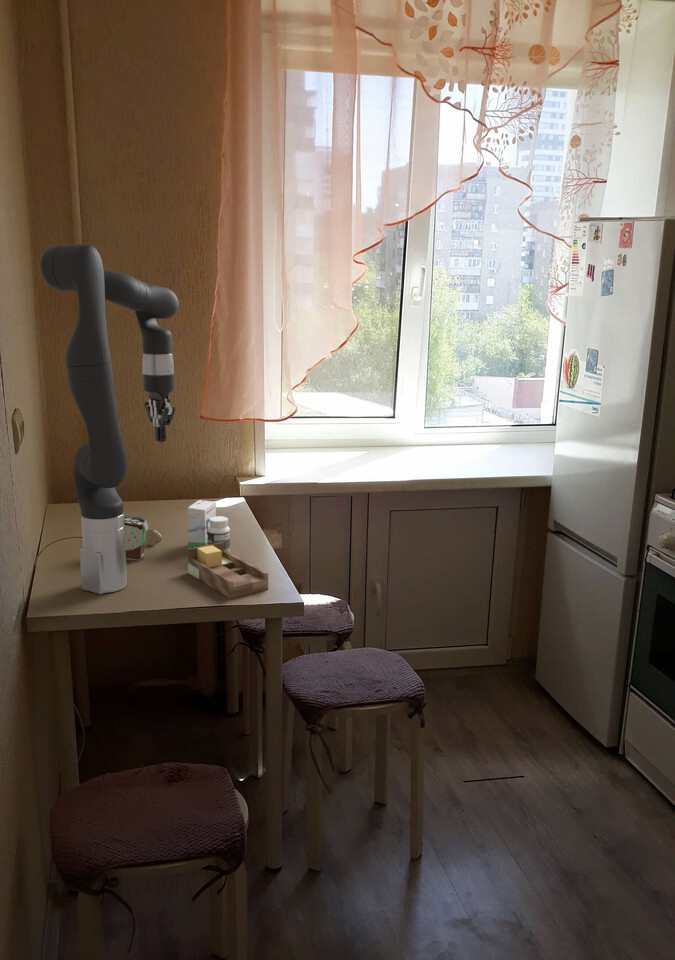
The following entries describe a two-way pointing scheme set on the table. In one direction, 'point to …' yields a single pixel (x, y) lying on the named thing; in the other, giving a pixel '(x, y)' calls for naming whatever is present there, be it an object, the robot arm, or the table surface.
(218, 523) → the pill bottle
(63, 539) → the table surface
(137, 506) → the table surface
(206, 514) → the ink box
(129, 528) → the food container
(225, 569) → the board
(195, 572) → the pad
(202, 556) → the ochre block
